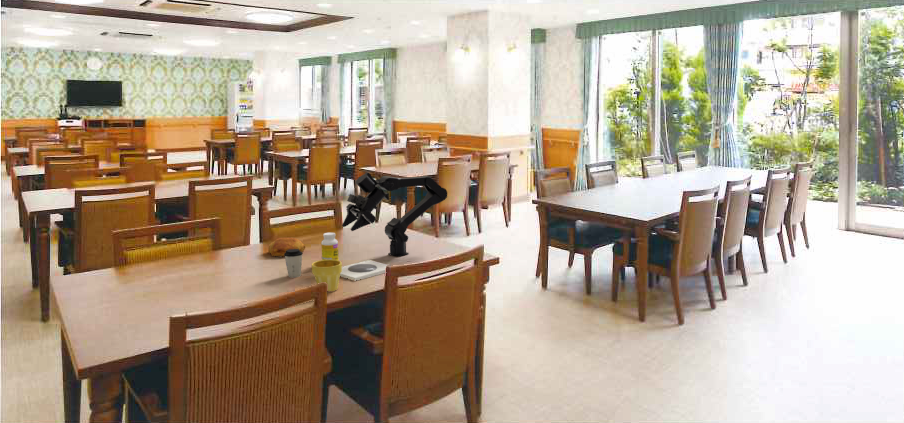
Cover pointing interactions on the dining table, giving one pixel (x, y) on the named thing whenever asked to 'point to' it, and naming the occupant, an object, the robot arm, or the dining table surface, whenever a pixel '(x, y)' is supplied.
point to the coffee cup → (293, 262)
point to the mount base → (362, 270)
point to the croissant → (285, 246)
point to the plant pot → (327, 272)
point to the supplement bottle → (329, 247)
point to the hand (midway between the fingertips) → (347, 228)
